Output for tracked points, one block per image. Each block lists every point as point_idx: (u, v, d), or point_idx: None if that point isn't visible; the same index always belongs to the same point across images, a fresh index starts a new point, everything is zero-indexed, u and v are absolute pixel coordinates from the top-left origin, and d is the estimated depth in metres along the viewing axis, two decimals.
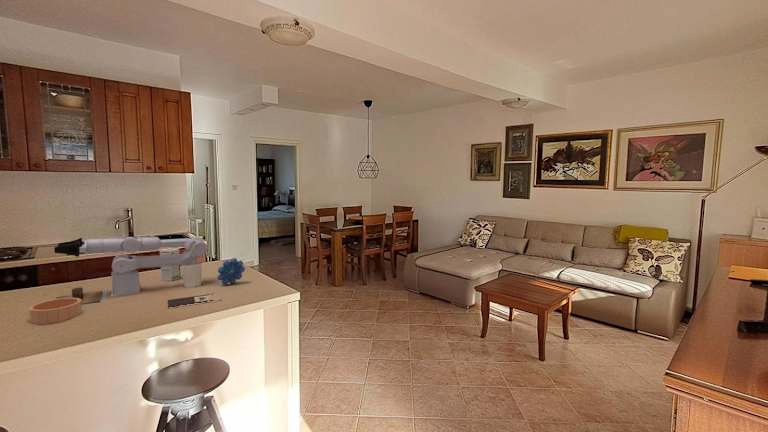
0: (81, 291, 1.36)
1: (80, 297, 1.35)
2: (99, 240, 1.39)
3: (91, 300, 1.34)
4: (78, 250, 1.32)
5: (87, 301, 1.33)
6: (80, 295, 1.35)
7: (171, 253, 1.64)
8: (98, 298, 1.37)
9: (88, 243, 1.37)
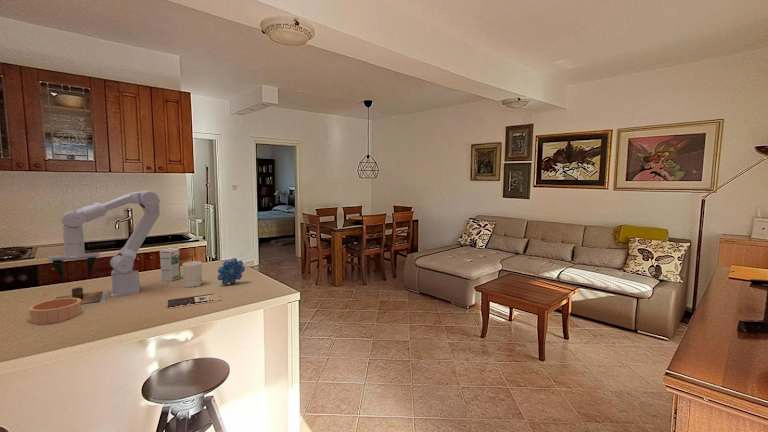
0: (81, 291, 1.36)
1: (80, 297, 1.35)
2: (78, 246, 1.33)
3: (91, 300, 1.34)
4: None
5: (87, 301, 1.33)
6: (80, 295, 1.35)
7: (171, 253, 1.64)
8: (98, 298, 1.37)
9: (82, 254, 1.34)
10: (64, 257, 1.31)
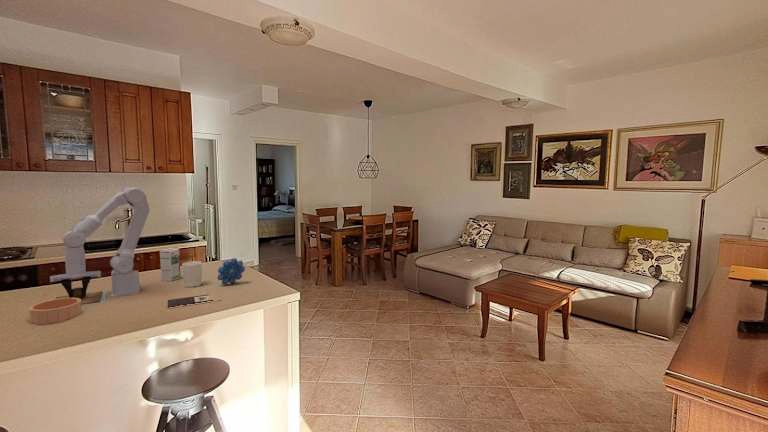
0: (81, 291, 1.36)
1: (80, 297, 1.35)
2: (79, 265, 1.33)
3: (91, 300, 1.34)
4: (90, 277, 1.38)
5: (87, 301, 1.33)
6: (80, 295, 1.35)
7: (171, 253, 1.64)
8: (98, 298, 1.37)
9: (83, 273, 1.35)
10: (65, 277, 1.32)
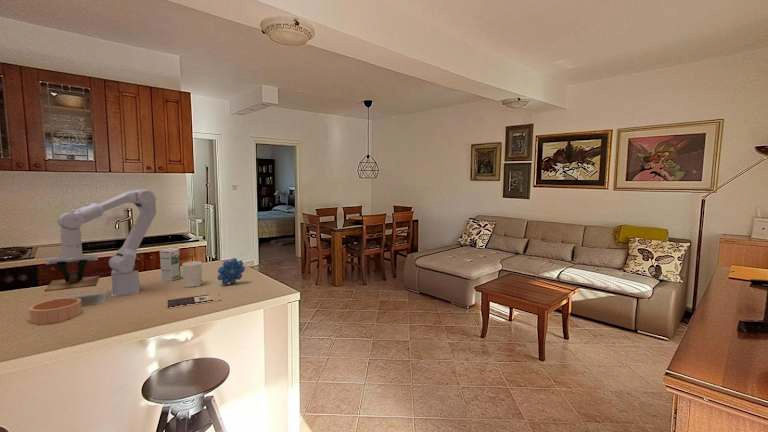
0: (77, 274, 1.33)
1: (76, 280, 1.33)
2: (75, 247, 1.31)
3: (87, 284, 1.32)
4: (87, 261, 1.35)
5: (83, 284, 1.30)
6: (76, 279, 1.32)
7: (171, 253, 1.64)
8: (94, 282, 1.34)
9: (79, 256, 1.32)
10: (61, 259, 1.29)
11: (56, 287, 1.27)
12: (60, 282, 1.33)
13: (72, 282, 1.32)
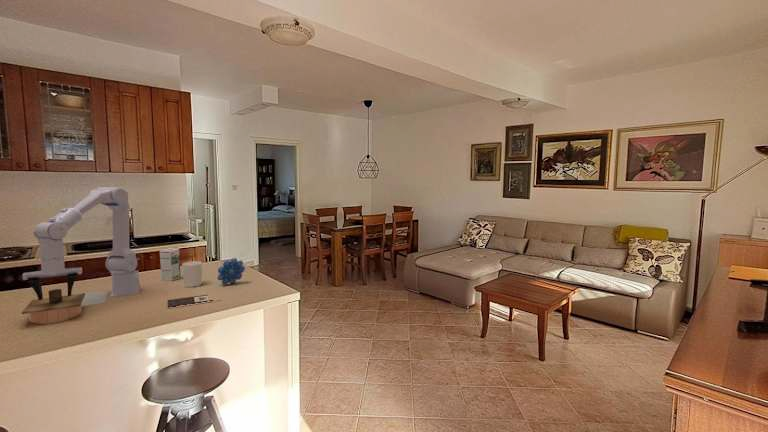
0: (59, 293, 1.20)
1: (58, 300, 1.20)
2: (56, 261, 1.18)
3: (70, 303, 1.19)
4: (77, 274, 1.23)
5: (66, 305, 1.18)
6: (58, 298, 1.20)
7: (171, 253, 1.64)
8: (79, 301, 1.21)
9: (61, 269, 1.19)
10: (41, 274, 1.16)
11: (35, 308, 1.14)
12: (40, 302, 1.20)
13: (53, 302, 1.19)
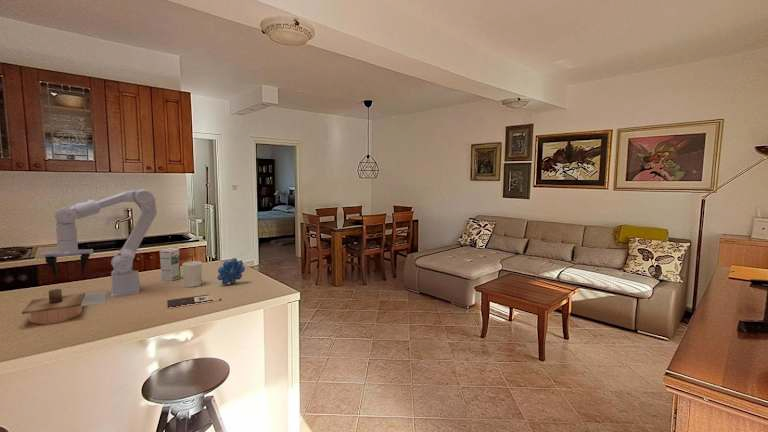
0: (59, 293, 1.20)
1: (58, 300, 1.20)
2: (71, 242, 1.32)
3: (70, 303, 1.19)
4: (89, 255, 1.38)
5: (66, 305, 1.18)
6: (58, 298, 1.20)
7: (171, 253, 1.64)
8: (79, 301, 1.21)
9: (75, 250, 1.34)
10: (57, 253, 1.30)
11: (35, 308, 1.14)
12: (40, 302, 1.20)
13: (53, 302, 1.19)
